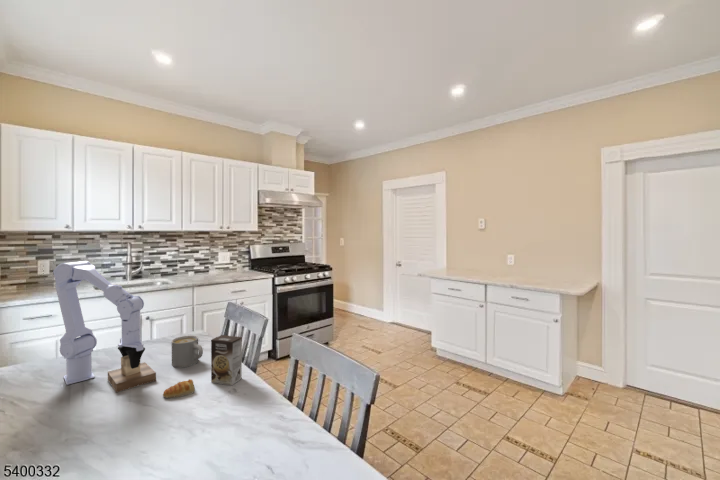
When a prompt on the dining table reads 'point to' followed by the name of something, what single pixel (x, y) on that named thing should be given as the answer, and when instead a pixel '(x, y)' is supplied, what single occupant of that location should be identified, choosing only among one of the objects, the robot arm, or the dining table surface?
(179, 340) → the coffee mug
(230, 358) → the coffee box
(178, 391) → the pastry
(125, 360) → the beech block
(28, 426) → the dining table surface
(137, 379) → the walnut base
